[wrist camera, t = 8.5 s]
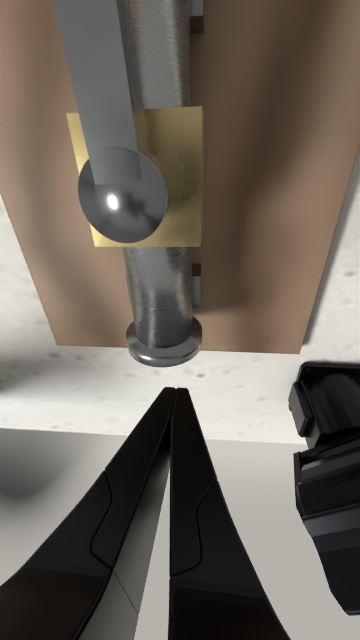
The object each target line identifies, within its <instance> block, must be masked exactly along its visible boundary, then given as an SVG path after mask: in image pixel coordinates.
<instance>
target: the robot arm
mask: <svg viewBox="0 0 360 640" xmlns="http://www.w3.org/2000/svg"><path fill="white" fill-rule="evenodd" d="M306 368H308V369H306ZM288 401H289V410H290V411H292V415H293V418H294V421H295V425H296V428H297V432H298V434H299V436H300V437H305V439H306V442H307V445H308V448H309V449H308V450H305V451H303V452H297V453H294V476H295V495H296V507H297V510H298V512H299V513H300V517H301V519H302V521H303V524H304V525H305V527H306V529H307V531H308V533H309V534H310V535H311V537H312V539H313V542H314V544H315V546H316V549H317V551H318V554H319V557H320V560H321V562H322V565H323V569H324V572H325V575H326V578H327V581H328V584H329V588H330V590H331V592H332V594H333V595H334V597H335V598H336V600H337V601H338V603H339V604H340V606H341V607H342V609H343V610H344V611H345V613H347V614H348V615H350V616H351V615H360V365H336V364H311V363H305V364H302V365H301V366H300V369H299V372H298V376H297V379H296V382H294V383H293V385H292V389H291V392H290V395H289V399H288ZM169 468H170V580H169V624H168V626H169V627H168V640H291V639H290V638H289V636H288V635H287V633H286V631H285V630H284V628H283V626H282V624H281V623H280V621H279V619H278V617H277V615H276V613H275V611H274V610H273V608H272V605H271V604H270V602H269V599H268V597H267V595H266V594H265V592H264V589H263V587H262V585H261V583H260V580H259V579H258V576H257V574H256V572H255V570H254V567H253V565H252V563H251V561H250V559H249V556H248V555H247V552H246V550H245V548H244V546H243V543H242V541H241V539H240V537H239V535H238V532H237V530H236V527H235V525H234V523H233V520H232V518H231V516H230V513H229V510H228V508H227V505H226V502H225V499H224V497H223V494H222V491H221V488H220V485H219V482H218V481H217V476H216V473H215V470H214V467H213V464H212V461H211V458H210V455H209V452H208V449H207V446H206V443H205V439H204V436H203V433H202V430H201V427H200V424H199V421H198V418H197V415H196V412H195V409H194V406H193V403H192V400H191V397H190V394H189V391H188V389H187V388H177V389H176V388H173V387H165V388H164V389H163V390H162V391H161V393H160V394H159V395H158V397H157V398H156V399H155V401H154V402H153V403H152V405H151V406H150V408H149V409H148V410H147V412H146V413H145V414H144V416H143V417H142V418H141V420H140V421H139V423H138V424H137V425H136V427H135V428H134V429H133V431H132V432H131V434H130V435H129V436H128V438H127V439H126V440H125V442H124V443H123V444H122V446H121V447H120V449H119V450H118V452H117V453H116V454H115V455H114V457H113V458H112V459H111V461H110V462H109V464H108V465H107V466H106V468H105V471H103V472H102V473H101V474H100V476H99V477H98V478H97V480H96V481H95V483H94V484H93V485H92V486H91V488H90V489H89V490H88V492H87V493H86V494H85V496H84V497H83V498H82V499H81V501H80V502H79V503H78V504H77V505H76V506H75V507H74V509H73V510H72V511H71V512H70V513H69V514H68V516H67V517H66V518H65V519H64V520H63V521H62V522H61V523H60V525H59V526H58V527H57V528H56V529H55V530H54V531H53V533H52V534H51V535H50V536H49V537H48V538H47V539H46V540H45V542H44V543H43V544H42V545H41V546H40V547H39V548H38V550H37V551H36V552H35V553H34V554H33V555H32V556H31V557H30V558H29V559H28V561H27V562H26V563H25V564H24V565H23V566H22V567H21V568H20V569H19V570H18V571H17V572H16V573H15V574H14V575H13V576H12V577H10V578H9V579H8V580H7V581H6V582H5V583H3V584H2V585H1V586H0V640H134V636H135V631H136V626H137V621H138V614H139V611H140V606H141V602H142V597H143V592H144V587H145V583H146V577H147V572H148V568H149V564H150V558H151V554H152V549H153V544H154V540H155V535H156V530H157V525H158V521H159V515H160V511H161V506H162V501H163V497H164V492H165V487H166V482H167V478H168V473H169Z"/></svg>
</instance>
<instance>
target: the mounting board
mask: <svg viewBox="0 0 360 640" xmlns="http://www.w3.org/2000/svg"><path fill="white" fill-rule="evenodd" d="M189 38H190V107H195V106H202V108H203V111H204V115H205V144H204V212H203V228H202V238H201V247H192V263H195V264H202V266H201V303H200V308H192V316H193V317H195V318H196V319H197V320H198V321H199V322H200V324H201V326H202V346H201V349H200V350H202V351H229V352H255V353H282V354H300V350H301V347H302V343H303V340H304V336H305V333H306V329H307V326H308V322H309V319H310V315H311V312H312V308H313V305H314V301H315V298H316V294H317V291H318V287H319V284H320V280H321V277H322V273H323V270H324V267H325V263H326V260H327V256H328V253H329V249H330V246H331V242H332V239H333V235H334V232H335V228H336V225H337V221H338V218H339V214H340V211H341V207H342V204H343V200H344V197H345V193H346V190H347V186H348V183H349V180H350V176H351V173H352V169H353V166H354V162H355V159H356V155H357V152H358V148H359V145H360V0H205V15H204V33H199V34H189ZM66 113H78V109H77V104H76V100H75V96H74V92H73V87H72V83H71V79H70V74H69V70H68V66H67V62H66V57H65V53H64V49H63V44H62V40H61V36H60V31H59V27H58V23H57V19H56V14H55V10H54V6H53V1H52V0H0V194H1V197H2V200H3V202H4V205H5V208H6V210H7V213H8V216H9V218H10V221H11V224H12V226H13V229H14V232H15V234H16V237H17V240H18V242H19V245H20V247H21V250H22V253H23V255H24V258H25V261H26V263H27V266H28V269H29V271H30V274H31V277H32V279H33V282H34V285H35V287H36V290H37V293H38V295H39V298H40V300H41V303H42V306H43V308H44V311H45V314H46V316H47V319H48V322H49V324H50V327H51V330H52V332H53V335H54V338H55V340H56V343H57V345H70V346H97V347H123V348H128V345H127V340H126V331H127V328H128V326H129V325H130V324H131V323H132V322H133V321H134V319H133V312H132V306H131V304H130V298H129V292H128V286H127V279H126V268H125V262H124V256H123V249H122V247H95V245H94V240H93V235H92V231H91V226H90V222H89V221H88V220H87V218H86V216H85V215H84V213H83V210H82V208H81V205H80V202H79V197H78V180H79V171H78V166H77V162H76V157H75V152H74V148H73V143H72V139H71V134H70V129H69V125H68V120H67V116H66Z"/></svg>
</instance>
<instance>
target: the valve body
mask: <svg viewBox="0 0 360 640" xmlns="http://www.w3.org/2000/svg"><path fill="white" fill-rule="evenodd" d="M129 1H130V9H131V17H132V25H133V33H134V41H135V49H136V57H137V65H138V73H139V81H140V89H141V97H142V105H143V113H144V121H145V129H146V137H147V145H148V152H150V153H151V154H153V155H154V156H155V157H156V158H157V159H158V160H159V161H160V162H161V164H162V165H163V167H164V168H165V170H166V172H167V174H168V177H169V180H170V184H171V202H170V206H169V209H168V211H167V213H166V215H165V217H164V218H163V220H162V222H161V223H160V225H159V227H158V228H157V229H156V231H155V232H154V233H153V234H152V235H150V236H149V237H148V238H146V239H144V240H142V241H140V242H136V243H119V242H116V241H113V240H110V239H108V238H106V237H105V236H103V235H102V234H100V233H99V232H98V231H97V230H96V229H95V228H94V227H93V226H92V225H91V224H90V226H91V231H92V235H93V240H94V245H95V247H122V249H123V256H124V262H125V268H126V279H127V286H128V292H129V298H130V304H131V306H132V312H133V319H134V321H133V322H132V323H131V324H130V325H129V326H128V328H127V331H126V340H127V345H128V350H129V353H130V354H131V356H132V357H133V358H134V359H135V360H137V361H138V362H140V363H142V364H145V365H148V366H153V367H171V366H176V365H180V364H182V363H185V362H187V361H189V360H190V359H192V358H193V357H194V356H195V355H197V353H198V352H199V351H200V349H201V346H202V326H201V324H200V322H199V321H198V320H197V319H196V318H195V317H193V316H192V308H200V303H201V266H202V264H195V263H192V247H201V238H202V228H203V212H204V144H205V115H204V111H203V108H202V106H195V107H190V38H189V34H199V33H204V15H205V0H129ZM66 116H67V120H68V125H69V129H70V134H71V139H72V143H73V148H74V152H75V157H76V162H77V166H78V171H79V175H80V172H81V170H82V167H83V165H84V164H85V162H86V161H87V160H88V159H89V156H88V152H87V147H86V143H85V139H84V135H83V130H82V126H81V122H80V117H79V113H66Z"/></svg>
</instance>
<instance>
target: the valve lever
mask: <svg viewBox="0 0 360 640" xmlns="http://www.w3.org/2000/svg"><path fill="white" fill-rule="evenodd" d="M52 1H53V6H54V10H55V14H56V19H57V23H58V27H59V31H60V36H61V40H62V44H63V49H64V53H65V57H66V62H67V66H68V70H69V74H70V79H71V83H72V87H73V92H74V96H75V100H76V104H77V109H78V113H79V117H80V122H81V126H82V130H83V135H84V139H85V143H86V147H87V152H88V156H89V159H88V160H87V161H86V162H85V164H84V165H83V167H82V170H81V172H80V175H79V180H78V197H79V202H80V205H81V208H82V210H83V213H84V215H85V216H86V218H87V220H88V221H89V222H90V224H91V225H92V226H93V227H94V228H95V229H96V230H97V231H98V232H99V233H100V234H102V235H103V236H105V237H106V238H108V239H110V240H113V241H116V242H119V243H136V242H140V241H142V240H144V239H146V238H148V237H149V236H150V235H152V234H153V233H154V232H155V231H156V229H157V228H158V227H159V225H160V223H161V222H162V220H163V218H164V217H165V215H166V213H167V211H168V209H169V206H170V202H171V184H170V180H169V177H168V174H167V172H166V170H165V168H164V167H163V165H162V164H161V162H160V161H159V160H158V159H157V158H156V157H155V156H154V155H153V154H151V153H150V152H148V145H147V137H146V129H145V121H144V113H143V105H142V97H141V89H140V81H139V73H138V65H137V57H136V49H135V41H134V33H133V25H132V17H131V9H130V1H129V0H52Z"/></svg>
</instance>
